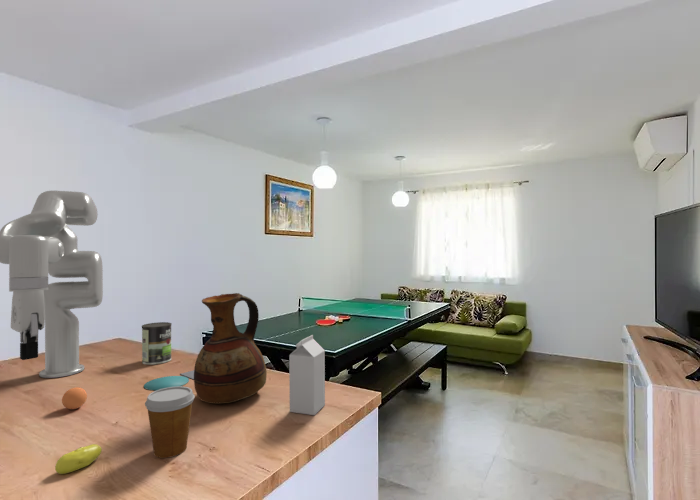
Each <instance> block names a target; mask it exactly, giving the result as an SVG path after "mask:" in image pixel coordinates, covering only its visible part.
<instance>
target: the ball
mask: <svg viewBox="0 0 700 500" xmlns="http://www.w3.org/2000/svg"><path fill="white" fill-rule="evenodd" d="M87 398H88V394H87V392H86V390H85V389H84V388H82V387H75V386H74V387H73V388H72V387H71V388H69V389H68V390H66V391H65V392H64V394H63V395H62V397H61V404H62V406H63V407H64V408H66V409H67V410H76V409H78V408H81V407H82V406H83V405H84V404H85V403H86V401H87Z"/></svg>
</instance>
